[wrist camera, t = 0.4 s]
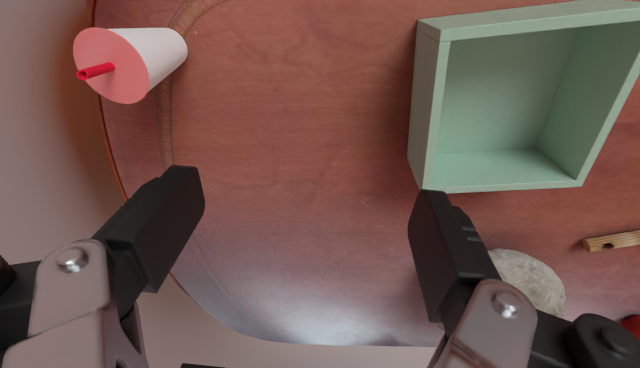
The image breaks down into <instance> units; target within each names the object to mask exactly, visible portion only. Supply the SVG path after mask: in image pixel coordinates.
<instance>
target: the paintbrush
mask: <svg viewBox="0 0 640 368" xmlns="http://www.w3.org/2000/svg"><path fill="white" fill-rule="evenodd" d="M582 242H583V243H582V244H583V246H584V249H585V250H587V252H595V251H602V250H605V249H614V248H621V247H627V246H633V245H639V244H640V230H637V231H631V232H625V233H619V234H612V235H606V236H603V237H594V238H588V239H584V240H583V241H582Z"/></svg>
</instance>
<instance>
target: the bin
mask: <svg viewBox="0 0 640 368" xmlns="http://www.w3.org/2000/svg"><path fill="white" fill-rule="evenodd" d="M639 73H640V1H621V0H580V1H571V2H562V3H554V4H545V5H537V6H528V7H520V8H511V9H503V10H494V11H486V12H477V13H469V14H460V15H452V16H443V17H435V18H426V19H418V20H417V32H416V45H415V58H414V71H413V84H412V98H411V111H410V124H409V137H408V150H407V160H408V162H409V165H410V167H411V170H412V172H413V175H414V177H415V180H416V183H417V185H418V188H419V190H421V189H428V190H438V191H444V192H445V193H446V194H449V193H468V192H488V191H507V190H526V189H545V188H565V187H581V186H582V184H583V182H584V180H585V178H586V176H587V175H588V173H589V171H590V169H591V167H592V165H593V163H594V161H595V159H596V157H597V155H598V153H599V151H600V149H601V147H602V145H603V143H604V142H605V140H606V138H607V136H608V134H609V132H610V130H611V128H612V126H613V124H614V122H615V120H616V118H617V116H618V114H619V112H620V110H621V108H622V107H623V105H624V103H625V101H626V99H627V97H628V95H629V93H630V91H631V89H632V87H633V85H634V83H635V81H636V79H637V77H638V75H639Z"/></svg>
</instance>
